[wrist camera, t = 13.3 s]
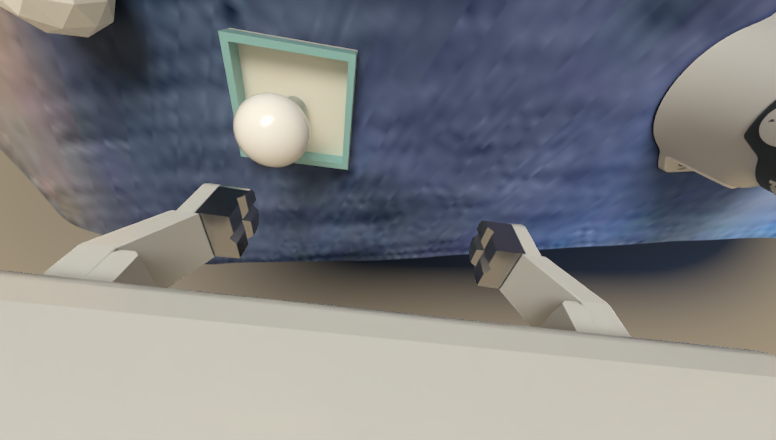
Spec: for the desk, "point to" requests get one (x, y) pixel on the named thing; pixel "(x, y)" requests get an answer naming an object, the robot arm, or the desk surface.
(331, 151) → the dish
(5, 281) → the robot arm
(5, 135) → the desk surface
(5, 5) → the geometric ball
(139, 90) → the desk surface
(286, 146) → the lightbulb
